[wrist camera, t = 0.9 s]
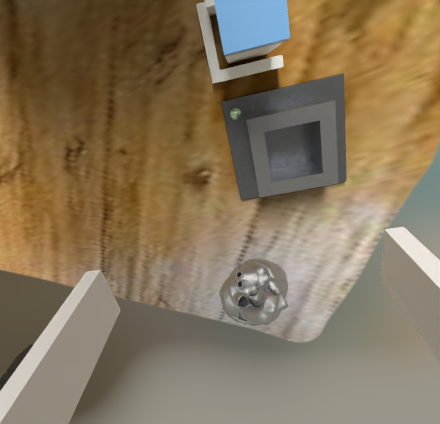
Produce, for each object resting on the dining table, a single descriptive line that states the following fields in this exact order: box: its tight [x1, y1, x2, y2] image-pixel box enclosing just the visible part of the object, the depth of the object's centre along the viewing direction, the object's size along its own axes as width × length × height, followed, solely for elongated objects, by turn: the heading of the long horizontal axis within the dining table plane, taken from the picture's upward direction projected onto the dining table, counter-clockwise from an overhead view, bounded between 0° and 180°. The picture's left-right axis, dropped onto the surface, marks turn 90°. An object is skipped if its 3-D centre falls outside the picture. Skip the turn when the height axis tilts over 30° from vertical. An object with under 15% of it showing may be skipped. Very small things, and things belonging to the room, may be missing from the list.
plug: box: [214, 0, 290, 64], centre depth 22 cm, size 4×4×14 cm
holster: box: [196, 0, 284, 83], centre depth 27 cm, size 7×7×4 cm
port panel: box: [222, 74, 346, 200], centre depth 31 cm, size 12×13×5 cm
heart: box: [220, 258, 288, 325], centre depth 36 cm, size 10×10×12 cm
